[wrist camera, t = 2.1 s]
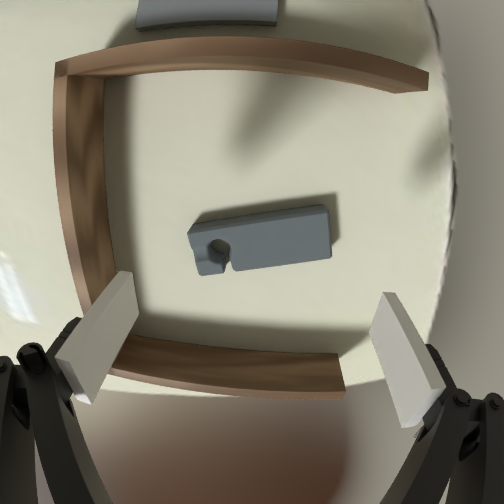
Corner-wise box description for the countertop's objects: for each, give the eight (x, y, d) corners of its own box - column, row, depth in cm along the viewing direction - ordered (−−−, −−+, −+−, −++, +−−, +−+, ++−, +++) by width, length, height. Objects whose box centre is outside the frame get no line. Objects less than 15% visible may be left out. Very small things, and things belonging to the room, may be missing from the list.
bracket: (328, 248, 23) (333, 259, 22) (203, 265, 25) (198, 278, 23) (324, 201, 22) (329, 209, 20) (191, 222, 23) (185, 231, 21)
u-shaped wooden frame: (93, 67, 17) (55, 62, 12) (395, 78, 16) (428, 72, 12) (121, 340, 29) (104, 373, 24) (334, 361, 28) (342, 398, 24)
